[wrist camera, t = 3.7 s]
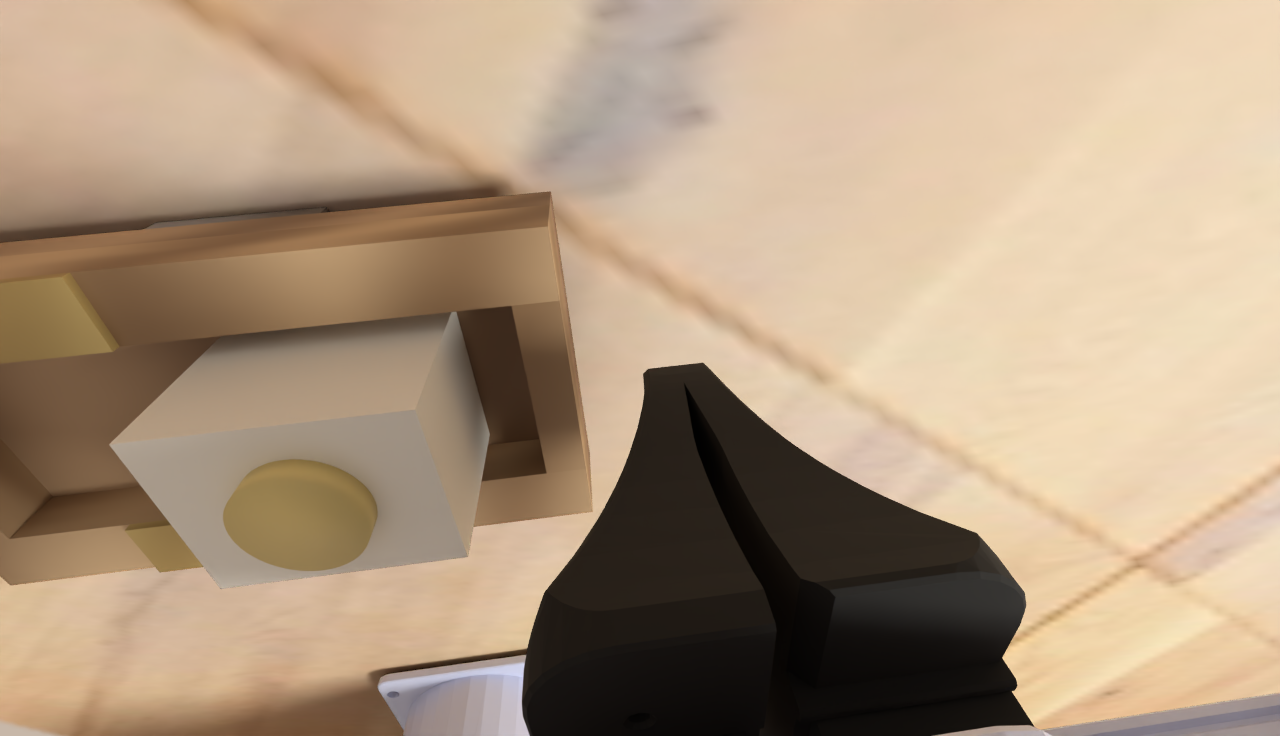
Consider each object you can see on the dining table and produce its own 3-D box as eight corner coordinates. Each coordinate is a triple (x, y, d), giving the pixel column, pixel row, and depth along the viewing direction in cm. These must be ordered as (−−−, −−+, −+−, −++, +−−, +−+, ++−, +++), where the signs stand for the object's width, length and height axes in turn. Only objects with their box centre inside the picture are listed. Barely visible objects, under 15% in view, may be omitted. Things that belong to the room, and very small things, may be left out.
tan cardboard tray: (552, 177, 14) (547, 229, 11) (588, 428, 18) (592, 517, 15) (-97, 237, 13) (-311, 313, 10) (106, 484, 17) (4, 592, 14)
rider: (454, 304, 13) (408, 428, 9) (489, 434, 15) (464, 577, 11) (230, 327, 13) (87, 465, 9) (298, 456, 15) (207, 610, 11)
